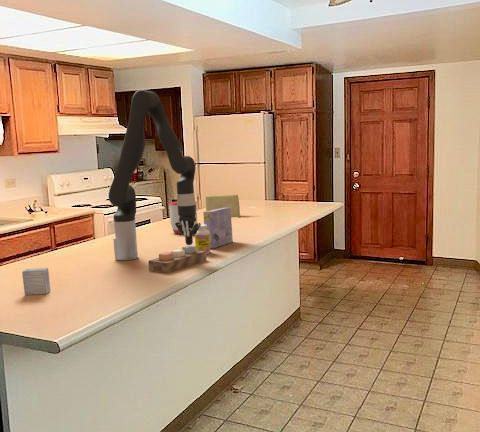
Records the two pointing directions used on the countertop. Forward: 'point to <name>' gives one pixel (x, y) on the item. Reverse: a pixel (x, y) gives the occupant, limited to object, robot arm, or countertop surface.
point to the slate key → (189, 249)
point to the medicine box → (36, 281)
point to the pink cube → (165, 256)
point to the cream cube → (178, 253)
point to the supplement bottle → (202, 239)
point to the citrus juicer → (176, 215)
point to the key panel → (177, 262)
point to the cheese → (223, 203)
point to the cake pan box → (219, 226)
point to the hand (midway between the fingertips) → (189, 244)
